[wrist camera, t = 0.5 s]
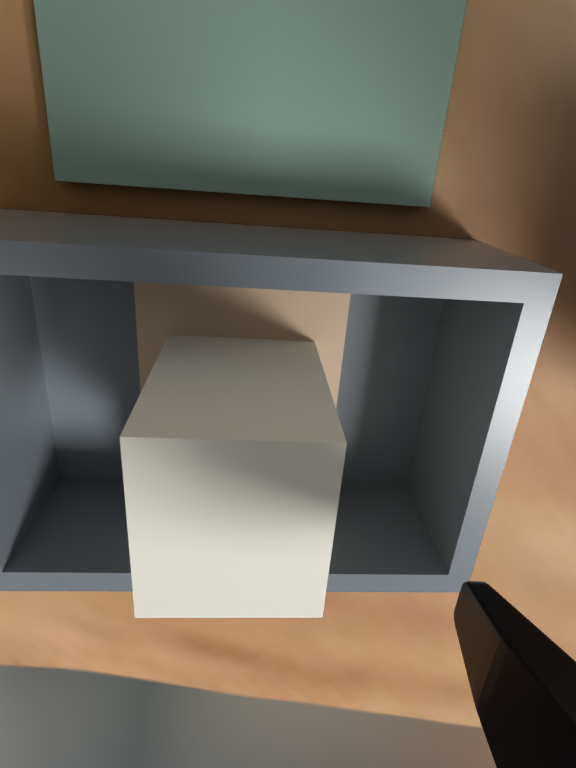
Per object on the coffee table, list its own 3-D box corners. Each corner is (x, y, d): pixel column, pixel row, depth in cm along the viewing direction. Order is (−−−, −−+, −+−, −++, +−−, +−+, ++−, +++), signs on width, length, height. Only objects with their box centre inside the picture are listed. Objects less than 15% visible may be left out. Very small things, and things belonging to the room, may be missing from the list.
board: (498, -208, 13) (507, -222, 12) (425, 205, 17) (429, 207, 16) (8, -279, 12) (-2, -297, 11) (60, 180, 16) (54, 180, 15)
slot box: (474, 239, 17) (563, 273, 12) (418, 492, 22) (466, 592, 17) (0, 208, 16) (-115, 233, 11) (46, 485, 21) (-20, 590, 16)
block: (314, 341, 15) (346, 443, 10) (301, 473, 17) (322, 617, 12) (168, 334, 15) (119, 436, 10) (173, 470, 17) (134, 617, 12)
